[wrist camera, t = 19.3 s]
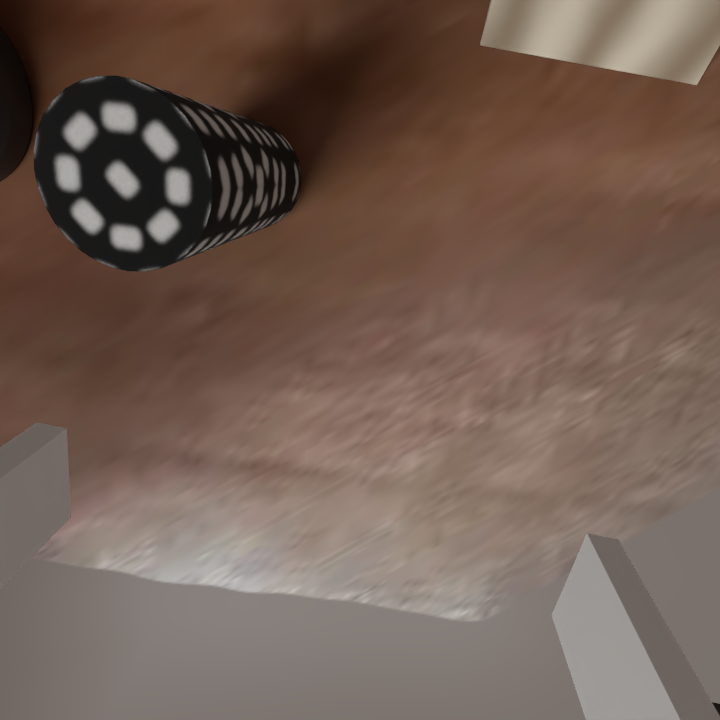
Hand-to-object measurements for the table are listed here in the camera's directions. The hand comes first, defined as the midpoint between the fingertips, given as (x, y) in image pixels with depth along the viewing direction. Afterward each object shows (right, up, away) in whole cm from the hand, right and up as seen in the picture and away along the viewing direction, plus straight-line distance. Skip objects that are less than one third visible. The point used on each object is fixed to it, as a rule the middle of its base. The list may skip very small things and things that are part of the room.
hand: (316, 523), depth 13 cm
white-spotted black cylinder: (-8, +19, +29) cm, 36 cm away
